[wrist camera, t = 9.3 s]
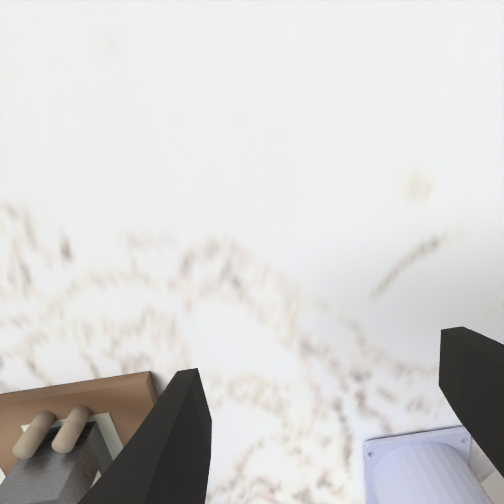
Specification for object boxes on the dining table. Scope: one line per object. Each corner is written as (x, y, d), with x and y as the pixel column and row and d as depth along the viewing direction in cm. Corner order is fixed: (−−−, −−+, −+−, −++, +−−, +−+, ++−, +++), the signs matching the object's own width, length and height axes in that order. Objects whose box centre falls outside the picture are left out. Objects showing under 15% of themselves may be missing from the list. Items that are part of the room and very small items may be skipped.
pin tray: (199, 523, 28) (194, 576, 24) (60, 543, 28) (36, 598, 25) (149, 371, 22) (133, 412, 19) (-23, 397, 22) (-69, 443, 19)
